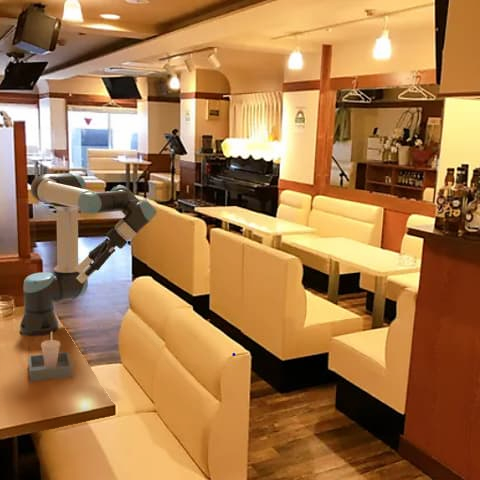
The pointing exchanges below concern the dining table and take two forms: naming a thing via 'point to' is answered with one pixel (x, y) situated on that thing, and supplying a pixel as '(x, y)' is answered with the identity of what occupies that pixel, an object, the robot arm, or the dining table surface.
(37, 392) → the dining table surface
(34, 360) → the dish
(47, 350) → the smoothie
